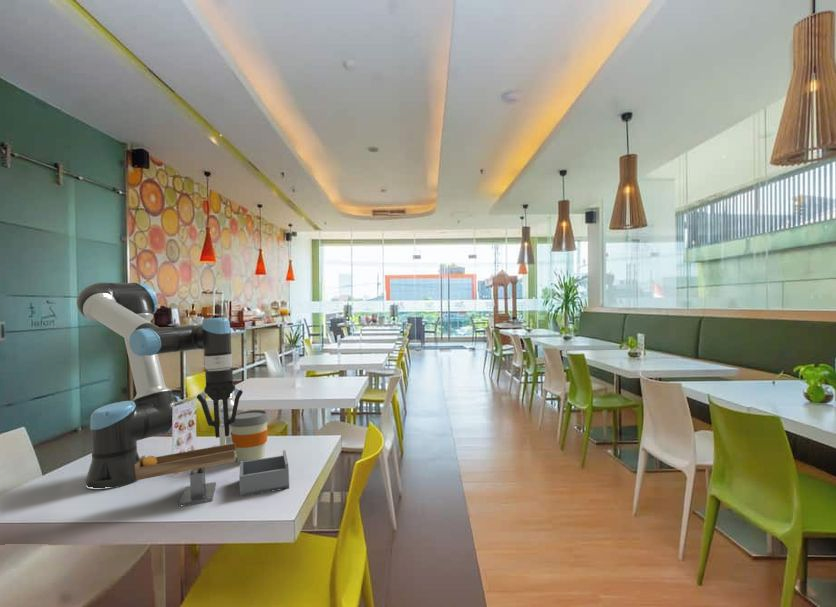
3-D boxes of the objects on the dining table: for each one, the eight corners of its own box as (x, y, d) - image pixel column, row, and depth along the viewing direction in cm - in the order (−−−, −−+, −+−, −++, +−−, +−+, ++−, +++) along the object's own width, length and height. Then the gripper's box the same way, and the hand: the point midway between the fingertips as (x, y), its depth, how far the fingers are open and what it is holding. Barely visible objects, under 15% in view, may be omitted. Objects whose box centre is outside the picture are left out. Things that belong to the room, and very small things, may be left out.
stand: (185, 489, 131) (184, 465, 131) (215, 484, 134) (214, 460, 134) (179, 506, 120) (178, 479, 120) (212, 500, 122) (211, 474, 122)
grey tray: (241, 480, 136) (240, 456, 136) (286, 472, 141) (285, 450, 141) (240, 496, 124) (239, 471, 124) (289, 488, 129) (288, 463, 129)
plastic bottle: (240, 446, 170) (238, 393, 170) (221, 450, 167) (219, 395, 167) (237, 442, 176) (235, 390, 176) (218, 445, 172) (216, 393, 172)
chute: (149, 465, 133) (148, 447, 133) (237, 449, 141) (235, 432, 141) (135, 485, 117) (133, 465, 117) (235, 466, 126) (233, 447, 126)
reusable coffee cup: (277, 452, 161) (275, 410, 161) (254, 464, 149) (252, 419, 149) (247, 450, 165) (245, 409, 165) (223, 462, 153) (221, 418, 153)
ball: (140, 471, 122) (138, 458, 122) (154, 465, 125) (152, 453, 125) (146, 472, 120) (144, 459, 120) (160, 467, 123) (158, 454, 123)
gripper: (193, 372, 130) (197, 454, 130) (241, 368, 135) (246, 447, 135) (196, 369, 137) (200, 447, 137) (242, 365, 142) (246, 440, 142)
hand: (223, 447), depth 136 cm, fingers closed
